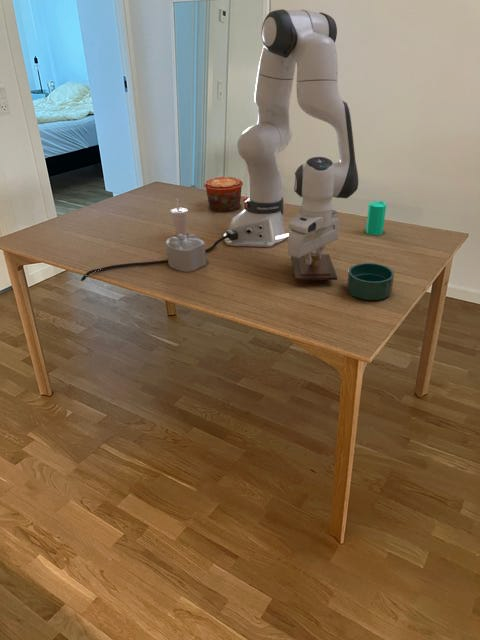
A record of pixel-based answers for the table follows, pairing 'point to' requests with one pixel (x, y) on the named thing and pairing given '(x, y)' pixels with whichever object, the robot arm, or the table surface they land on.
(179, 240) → the lumpy-topped squat cylinder
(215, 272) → the table surface
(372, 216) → the candle
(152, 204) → the table surface
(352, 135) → the robot arm
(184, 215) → the smoothie
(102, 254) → the table surface
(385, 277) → the bowl
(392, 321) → the table surface
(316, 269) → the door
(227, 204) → the food container
